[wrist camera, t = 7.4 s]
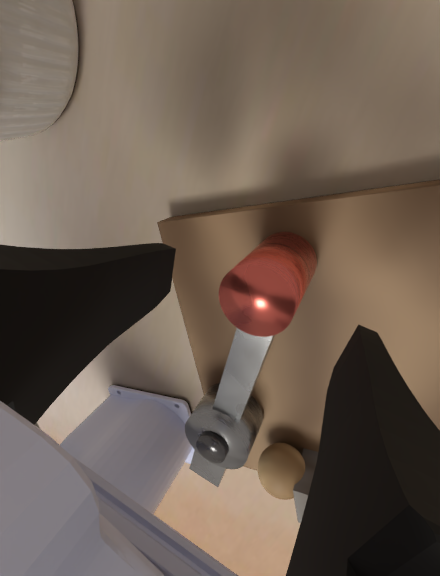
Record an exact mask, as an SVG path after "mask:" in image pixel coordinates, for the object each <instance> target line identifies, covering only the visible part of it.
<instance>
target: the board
mask: <svg viewBox="0 0 440 576" xmlns="http://www.w3.org/2000/svg"><path fill="white" fill-rule="evenodd" d="M157 223H158V227H159V231H160V234H161V238H162V242H163V244H166V245H168V246H171V247H173V248H175V249H176V252H175V260H174V267H173V274H172V278H173V282H174V286H175V289H176V293H177V297H178V301H179V304H180V308H181V312H182V315H183V319H184V323H185V326H186V330H187V334H188V337H189V341H190V345H191V348H192V352H193V356H194V359H195V363H196V367H197V371H198V374H199V378H200V382H201V385H202V389H203V393H204V395H205V394H206V392H207V391H208V389H209V388H210V387H211V386H213V385H215V384H218V383H220V382H221V379H222V375H223V372H224V369H225V365H226V362H227V359H228V355H229V352H230V349H231V345H232V342H233V339H234V335H235V332H236V329H237V327H235V326H234V325H233V324H232V323H231V322H230V321H229V320H228V318H227V317H226V316H225V314H224V312H223V310H222V308H221V306H220V302H219V287H220V283H221V281H222V279H223V278H224V276H225V275H226V274H227V273H228V272H229V271H230V270H231V269H233V268H234V267H235V266H236V265H237V264H238V263H239V262H240V261H241V260H243V259H244V258H245V257H246V256H247V255H248V254H249V253H250V252H251V251H253V250H254V249H255V248H256V247H257V246H258V245H259V244H260V243H262V242H263V241H264V240H265V239H266V238H267V237H269V236H271V235H273V234H275V233H279V232H290V233H294V234H297V235H299V236H301V237H303V238H304V239H305V240H307V241H308V242H309V244H310V245H311V246H312V248H313V249H314V252H315V254H316V259H317V267H316V271H315V274H314V276H313V278H312V280H311V282H310V284H309V286H308V288H307V290H306V292H305V294H304V296H303V298H302V300H301V302H300V304H299V306H298V309H297V311H296V313H295V315H294V317H293V319H292V321H291V323H290V324H289V325H288V327H287V328H286V329H285V330H283V331H282V332H280V333H278V334H276V335H275V336H274V339H273V341H272V344H271V346H270V349H269V352H268V354H267V357H266V359H265V362H264V364H263V367H262V369H261V372H260V374H259V377H258V379H257V382H256V384H255V387H254V390H253V392H252V395H251V396H252V397H253V398H254V399H255V400H256V401H257V403H258V404H259V406H260V408H261V410H262V413H263V422H262V425H261V427H260V430H259V432H258V435H257V437H256V439H255V442H254V444H253V447H252V449H251V451H250V454H249V456H248V459H247V461H246V463H245V464H244V465H243V466H244V467H247V468H250V469H254V470H257V471H258V475H259V479H260V481H261V484H262V485H263V487H264V488H265V490H266V491H267V492H268V493H269V494H271V495H272V496H274V497H276V498H278V499H284V500H287V499H292V498H294V500H295V506H296V513H297V519H298V522H299V523H301V521H302V517H303V513H304V509H305V506H306V502H307V498H308V494H309V491H310V487H311V483H312V479H313V475H314V471H315V467H316V462H317V457H318V452H319V445H320V437H321V430H322V423H323V415H324V408H325V401H326V394H327V389H328V386H329V382H330V379H331V375H332V372H333V368H334V366H335V364H336V363H337V361H338V359H339V357H340V356H341V354H342V352H343V350H344V349H345V347H346V345H347V343H348V342H349V340H350V338H351V336H352V335H353V333H354V331H355V329H356V328H357V326H358V324H359V325H361V326H363V327H366V328H368V329H371V330H373V331H375V332H377V333H378V334H379V336H380V338H381V340H382V341H383V343H384V345H385V347H386V349H387V351H388V353H389V355H390V356H391V358H392V360H393V362H394V364H395V365H396V367H397V369H398V371H399V372H400V374H401V376H402V378H403V379H404V381H405V382H406V384H407V386H408V387H409V389H410V390H411V392H412V393H413V395H414V396H415V398H416V399H417V401H418V402H419V404H420V405H421V407H422V408H423V409H424V411H425V412H426V414H427V415H428V416H429V418H430V419H431V420H432V421H433V423H434V424H435V425H436V427H437V428H438V429H439V430H440V180H434V181H427V182H420V183H413V184H405V185H398V186H391V187H384V188H377V189H369V190H362V191H355V192H348V193H340V194H333V195H326V196H319V197H312V198H304V199H297V200H290V201H283V202H276V203H268V204H261V205H254V206H247V207H239V208H232V209H225V210H218V211H211V212H203V213H196V214H189V215H182V216H174V217H170V218H167V219H165V220H162V221H160V222H157Z"/></svg>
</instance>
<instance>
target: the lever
mask: <svg viewBox="0 0 440 576" xmlns="http://www.w3.org/2000/svg"><path fill="white" fill-rule="evenodd" d="M316 267H317V259H316V254H315V252H314V249H313V248H312V246H311V245H310V244H309V242H308V241H307V240H305V239H304V238H303V237H301V236H299V235H297V234H294V233H290V232H279V233H275V234H273V235H271V236H269V237H267V238H266V239H265V240H264V241H263V242H262V243H260V244H259V245H258V246H257V247H256V248H255V249H254V250H253V251H251V252H250V253H249V254H248V255H247V256H246V257H245V258H244V259H243V260H241V261H240V262H239V263H238V264H237V265H236V266H235V267H234V268H233V269H231V270H230V271H229V272H228V273H227V274H226V275H225V276H224V278H223V279H222V281H221V283H220V287H219V302H220V306H221V308H222V310H223V312H224V314H225V316H226V317H227V318H228V320H229V321H230V322H231V323H232V324H233V325H234V326H235V327H237V329H236V332H235V335H234V339H233V342H232V345H231V349H230V352H229V355H228V359H227V362H226V365H225V369H224V372H223V375H222V379H221V382H220V383H218V384H215V385H213V386H211V387H210V388H209V389H208V391H207V392H206V394H205V395H204V396H203V398H202V399H201V401H200V402H199V404H198V405H197V407H196V408H195V410H194V411H193V413H192V414H191V416H190V417H189V419H188V420H187V422H186V424H185V434H186V437H187V439H188V441H189V443H190V444H191V446H192V447H193V448H194V449H195V451H194V454H193V458H192V461H191V465H190V468H189V469H191V470H192V471H194V472H195V473H197V474H198V475H200V476H201V477H203V478H205V479H206V480H208V481H209V482H211V483H212V484H214V485H215V486H217V487H218V486H219V484H220V482H221V480H222V478H223V475H224V473H225V471H226V469H238V468H240V467H242V466H243V465H244V464H245V463H246V461H247V459H248V456H249V454H250V451H251V449H252V447H253V444H254V442H255V439H256V437H257V435H258V432H259V430H260V427H261V425H262V422H263V413H262V410H261V408H260V406H259V404H258V403H257V401H256V400H255V399H254V398H253V397H252V396H251V395H252V392H253V390H254V387H255V384H256V382H257V379H258V377H259V374H260V372H261V369H262V367H263V364H264V362H265V359H266V357H267V354H268V352H269V349H270V346H271V344H272V341H273V339H274V336H275V335H276V334H278V333H280V332H282V331H283V330H285V329H286V328H287V327H288V325H289V324H290V323H291V321H292V319H293V317H294V315H295V313H296V311H297V309H298V306H299V304H300V302H301V300H302V298H303V296H304V294H305V292H306V290H307V288H308V286H309V284H310V282H311V280H312V278H313V276H314V274H315V271H316Z"/></svg>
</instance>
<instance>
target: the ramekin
mask: <svg viewBox="0 0 440 576" xmlns="http://www.w3.org/2000/svg"><path fill="white" fill-rule="evenodd" d="M77 66H78V32H77V23H76V16H75V10H74V5H73V1H72V0H0V141H3V140H10V139H16V138H22V137H27V136H32V135H35V134H37V133H39V132H42V131H44V130H46V129H47V128H48V127H49V126H51V125H53V123H54V122H55V121H56V119H58V118H59V117H60V115H61V113H62V112H63V110H64V109H65V107H66V105H67V103H68V101H69V99H70V97H71V95H72V92H73V88H74V84H75V80H76V74H77Z"/></svg>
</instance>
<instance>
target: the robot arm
mask: <svg viewBox="0 0 440 576" xmlns="http://www.w3.org/2000/svg"><path fill="white" fill-rule="evenodd" d="M175 252H176V249H175V248H173V247H171V246H168V245H166V244H163V243H152V244H139V245H129V246H119V247H108V248H94V249H42V248H27V247H16V246H7V245H0V576H238V575H237V574H235V573H234V572H232V571H231V570H230V569H228V568H227V567H225V566H224V565H223V564H221V563H220V562H218V561H217V560H216V559H214V558H213V557H212V556H210V555H209V554H207V553H206V552H205V551H203V550H202V549H200V548H199V547H198V546H196V545H195V544H193V543H192V542H191V541H189V540H188V539H187V538H185V537H184V536H182V535H181V534H180V533H178V532H177V531H175V530H174V529H173V528H171V527H170V526H169V525H167V524H166V523H164V522H163V521H162V520H160V519H159V518H157V517H156V516H155V515H153V514H154V512H155V510H156V509H157V507H158V506H159V504H160V502H161V501H162V499H163V497H164V496H165V494H166V492H167V491H168V489H169V487H170V486H171V484H172V482H173V481H174V479H175V477H176V476H177V474H178V472H179V471H180V469H181V467H182V466H183V464H184V462H186V463H189V464H191V461H192V458H193V454H194V451H195V449H194V448H193V447H192V446H191V444H190V443H189V441H188V439H187V437H186V434H185V424H186V422H187V420H188V419H189V417H190V416H191V412H190V409H189V405H188V403H187V402H186V401H184V400H181V399H176V398H172V397H167V396H162V395H158V394H153V393H148V392H144V391H139V390H134V389H130V388H125V387H120V386H116V385H111V386H110V387H109V388H108V390H109V393H110V396H109V397H108V398H107V399H106V400H105V401H104V402H103V403H102V404H101V405H100V406H99V407H98V408H96V409H95V410H94V411H93V412H92V413H91V414H90V415H89V416H88V417H87V418H86V419H85V420H84V421H83V422H82V423H81V424H80V425H79V426H78V427H77V428H76V429H75V430H74V431H73V432H71V433H70V434H69V435H68V436H67V437H66V438H65V440H64V441H63V442H62V443H61V444H60V445H59V444H58V443H57V442H56V441H54V440H53V439H52V438H51V437H50V436H49V435H47V434H46V433H45V432H43V431H42V430H40V429H39V428H38V427H36V426H35V425H34V424H35V423H36V422H37V421H38V420H39V418H40V417H41V416H42V415H43V414H44V412H45V411H46V410H47V409H48V408H49V406H50V405H51V404H52V403H53V402H54V401H55V400H56V398H57V397H58V396H59V395H60V394H61V393H62V392H63V391H64V390H65V388H66V387H67V386H68V385H69V384H70V383H71V382H72V381H73V380H74V379H75V378H76V376H77V375H78V374H79V373H80V372H81V371H82V370H83V369H84V368H85V367H86V366H87V365H88V364H89V363H90V362H91V361H92V360H93V359H94V358H95V357H96V356H97V355H98V354H99V353H100V352H101V351H102V350H103V349H104V348H105V347H106V346H107V345H109V344H110V343H111V342H112V341H113V340H115V339H116V338H117V337H118V336H120V335H121V334H122V333H123V332H125V331H126V330H127V329H129V328H130V327H131V326H132V325H134V324H135V323H136V322H138V321H139V320H140V319H141V318H143V317H144V316H145V315H146V314H148V313H149V312H150V311H151V310H153V309H154V308H155V307H156V306H157V305H158V304H159V303H160V302H161V301H162V300H163V299H164V298H165V297H166V295H167V294H168V293H169V292H170V289H171V281H172V274H173V267H174V260H175ZM286 576H440V430H439V429H438V428H437V427H436V425H435V424H434V423H433V421H432V420H431V419H430V418H429V416H428V415H427V414H426V412H425V411H424V409H423V408H422V407H421V405H420V404H419V402H418V401H417V399H416V398H415V396H414V395H413V393H412V392H411V390H410V389H409V387H408V386H407V384H406V382H405V381H404V379H403V378H402V376H401V374H400V372H399V371H398V369H397V367H396V365H395V364H394V362H393V360H392V358H391V356H390V355H389V353H388V351H387V349H386V347H385V345H384V343H383V341H382V340H381V338H380V336H379V334H378V333H377V332H375V331H373V330H371V329H368V328H366V327H363V326H361V325H359V324H358V326H357V328H356V329H355V331H354V333H353V335H352V336H351V338H350V340H349V342H348V343H347V345H346V347H345V349H344V350H343V352H342V354H341V356H340V357H339V359H338V361H337V363H336V364H335V366H334V368H333V372H332V375H331V379H330V382H329V386H328V389H327V394H326V401H325V408H324V415H323V423H322V430H321V437H320V445H319V452H318V457H317V462H316V467H315V471H314V475H313V479H312V483H311V487H310V491H309V494H308V498H307V502H306V506H305V509H304V513H303V517H302V521H301V524H300V528H299V532H298V535H297V539H296V542H295V546H294V549H293V553H292V556H291V560H290V563H289V567H288V570H287V573H286Z"/></svg>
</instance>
